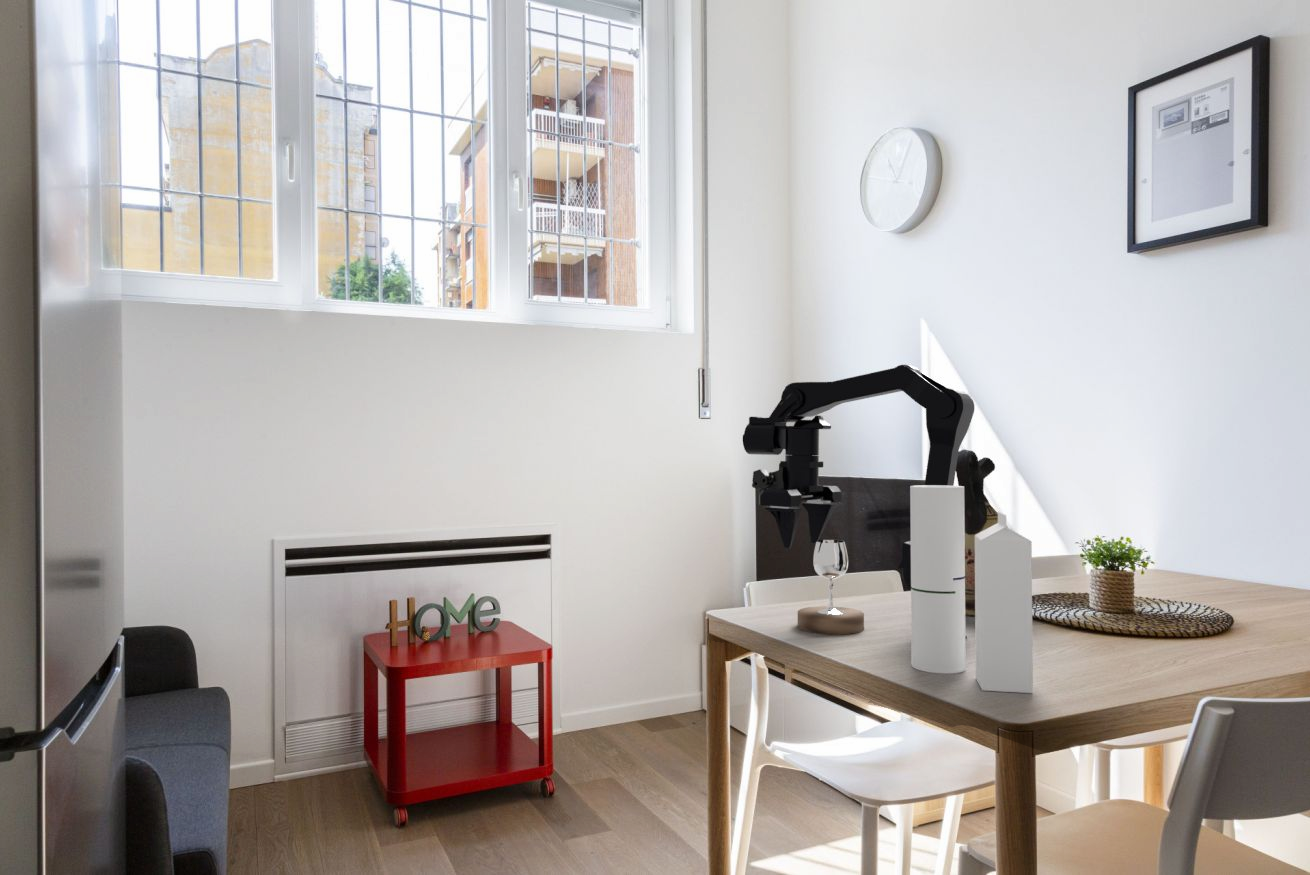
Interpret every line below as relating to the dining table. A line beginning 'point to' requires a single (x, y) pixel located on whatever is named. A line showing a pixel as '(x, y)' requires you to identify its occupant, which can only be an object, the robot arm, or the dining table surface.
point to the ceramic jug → (974, 513)
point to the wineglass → (830, 566)
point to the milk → (1003, 609)
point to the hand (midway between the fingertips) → (801, 545)
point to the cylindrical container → (937, 578)
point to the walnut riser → (830, 621)
